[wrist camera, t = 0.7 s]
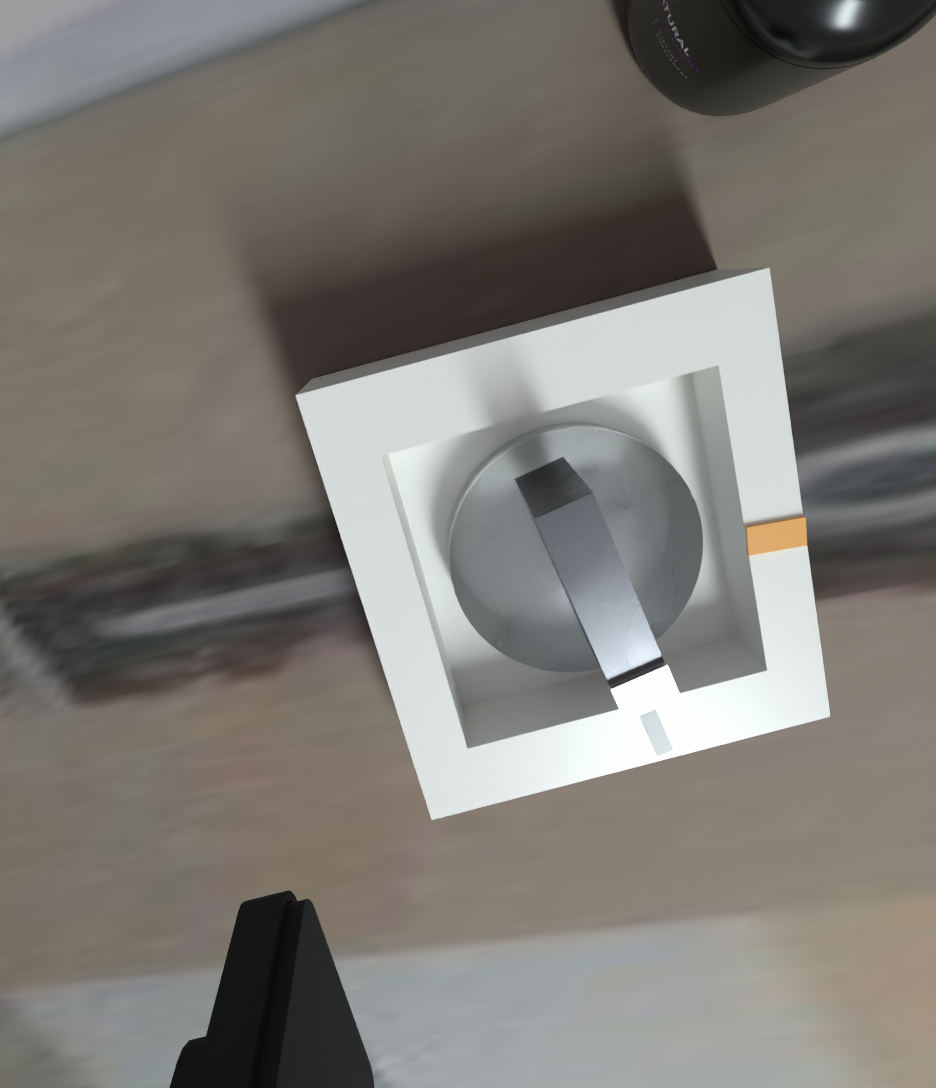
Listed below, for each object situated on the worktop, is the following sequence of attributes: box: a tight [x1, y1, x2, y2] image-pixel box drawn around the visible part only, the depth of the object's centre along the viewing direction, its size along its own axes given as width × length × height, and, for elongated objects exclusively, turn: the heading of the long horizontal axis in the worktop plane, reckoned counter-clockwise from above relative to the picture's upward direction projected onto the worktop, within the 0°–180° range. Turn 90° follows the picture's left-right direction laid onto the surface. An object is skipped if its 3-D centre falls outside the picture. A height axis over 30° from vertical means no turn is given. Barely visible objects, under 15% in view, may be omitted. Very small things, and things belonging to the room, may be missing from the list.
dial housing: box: [295, 268, 830, 820], centre depth 30 cm, size 15×16×5 cm
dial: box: [448, 422, 703, 721], centre depth 28 cm, size 9×9×7 cm
